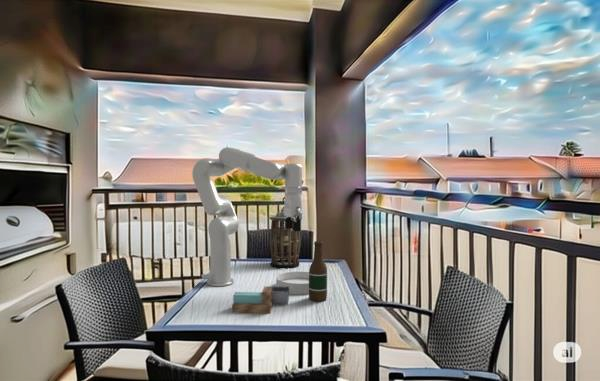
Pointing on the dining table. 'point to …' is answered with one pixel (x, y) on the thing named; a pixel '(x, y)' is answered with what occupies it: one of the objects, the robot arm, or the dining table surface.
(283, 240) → the lantern
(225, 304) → the dining table surface
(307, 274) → the dish
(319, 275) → the beer bottle
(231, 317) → the dining table surface
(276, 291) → the cradle block
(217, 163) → the robot arm
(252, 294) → the teal block
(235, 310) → the brown wooden bracket
